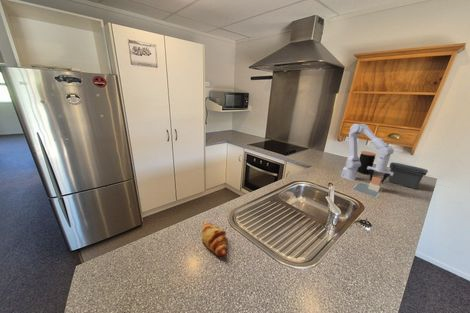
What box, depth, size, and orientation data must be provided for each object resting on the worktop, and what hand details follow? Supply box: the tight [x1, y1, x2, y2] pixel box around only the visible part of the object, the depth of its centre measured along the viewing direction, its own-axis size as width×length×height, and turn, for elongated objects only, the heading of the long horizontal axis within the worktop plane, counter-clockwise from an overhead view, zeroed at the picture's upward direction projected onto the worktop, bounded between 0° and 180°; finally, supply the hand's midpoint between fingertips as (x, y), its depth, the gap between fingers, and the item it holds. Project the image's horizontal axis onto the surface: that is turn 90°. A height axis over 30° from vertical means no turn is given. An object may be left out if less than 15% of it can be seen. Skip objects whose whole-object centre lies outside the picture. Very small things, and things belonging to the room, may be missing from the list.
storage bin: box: [388, 161, 429, 190], centre depth 143 cm, size 21×16×14 cm
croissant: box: [201, 221, 228, 258], centre depth 78 cm, size 21×10×8 cm, turn 29°
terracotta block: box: [369, 175, 383, 186], centre depth 130 cm, size 5×5×5 cm
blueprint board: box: [351, 181, 384, 199], centre depth 131 cm, size 15×20×5 cm
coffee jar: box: [357, 150, 377, 175], centre depth 161 cm, size 11×11×18 cm
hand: (376, 181), depth 130 cm, fingers open, 6 cm apart
